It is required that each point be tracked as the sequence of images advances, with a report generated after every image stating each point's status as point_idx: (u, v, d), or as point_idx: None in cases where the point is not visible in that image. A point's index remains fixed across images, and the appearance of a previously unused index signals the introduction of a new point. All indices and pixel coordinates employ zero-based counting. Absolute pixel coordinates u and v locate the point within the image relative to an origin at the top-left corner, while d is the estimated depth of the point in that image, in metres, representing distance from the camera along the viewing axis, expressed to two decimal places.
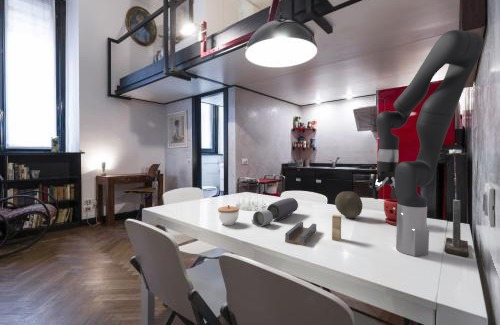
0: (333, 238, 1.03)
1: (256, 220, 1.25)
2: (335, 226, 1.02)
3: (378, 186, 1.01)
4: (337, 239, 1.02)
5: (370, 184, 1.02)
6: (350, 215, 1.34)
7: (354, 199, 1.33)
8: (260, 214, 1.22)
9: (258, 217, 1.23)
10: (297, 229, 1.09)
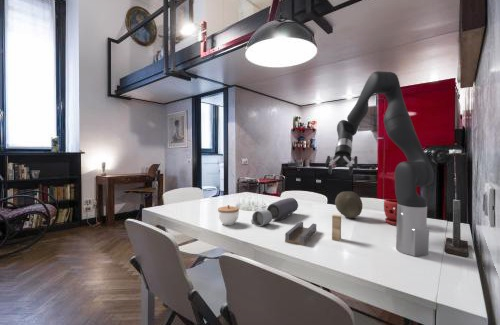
0: (333, 238, 1.03)
1: (255, 220, 1.25)
2: (335, 226, 1.02)
3: (331, 162, 1.19)
4: (337, 239, 1.02)
5: None
6: (350, 215, 1.34)
7: (354, 199, 1.33)
8: (259, 214, 1.23)
9: (257, 217, 1.24)
10: (297, 229, 1.09)
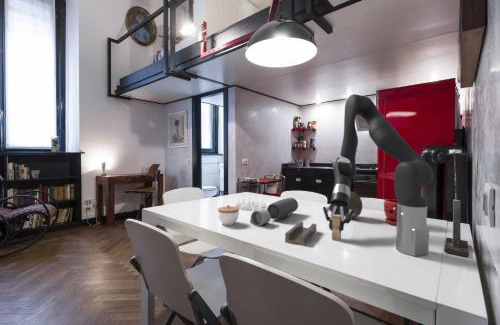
0: (333, 238, 1.03)
1: (254, 220, 1.26)
2: (335, 226, 1.02)
3: (331, 216, 1.05)
4: (337, 239, 1.02)
5: None
6: None
7: (354, 199, 1.33)
8: (258, 214, 1.23)
9: (256, 217, 1.24)
10: (297, 229, 1.09)
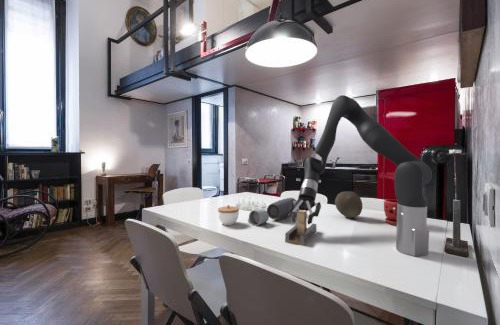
0: (298, 233, 1.06)
1: (252, 219, 1.27)
2: (300, 221, 1.05)
3: None
4: None
5: None
6: (350, 215, 1.34)
7: (354, 199, 1.33)
8: (256, 213, 1.24)
9: (254, 216, 1.25)
10: None
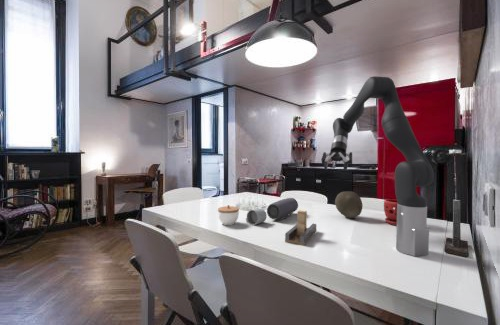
0: (298, 233, 1.06)
1: (250, 219, 1.27)
2: (300, 221, 1.05)
3: None
4: None
5: None
6: (350, 215, 1.34)
7: (354, 199, 1.33)
8: (254, 213, 1.25)
9: (252, 216, 1.26)
10: None
